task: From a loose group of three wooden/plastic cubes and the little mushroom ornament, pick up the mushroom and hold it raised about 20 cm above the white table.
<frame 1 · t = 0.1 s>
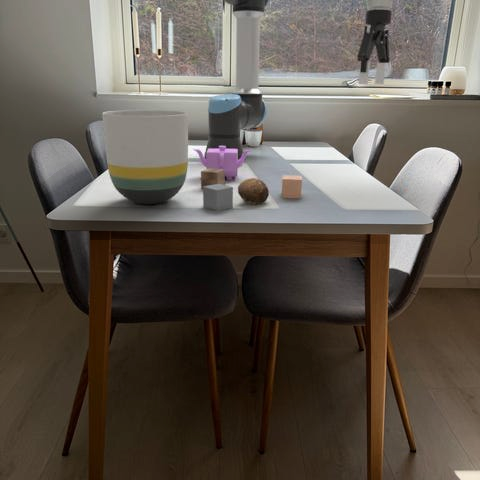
hand: (371, 84, 147), 28 cm above the table, fingers open, 13 cm apart
planter: (150, 202, 115), on the table
walnut cube: (213, 187, 130), on the table
mushroom: (253, 203, 116), on the table
slate cube: (218, 207, 111), on the table
terracotta cube: (291, 196, 122), on the table
teapot: (222, 177, 144), on the table
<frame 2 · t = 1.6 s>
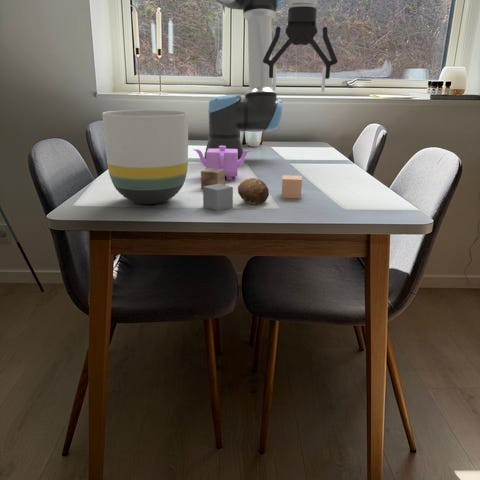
hand: (298, 91, 129), 26 cm above the table, fingers open, 13 cm apart
nothing on the table moved.
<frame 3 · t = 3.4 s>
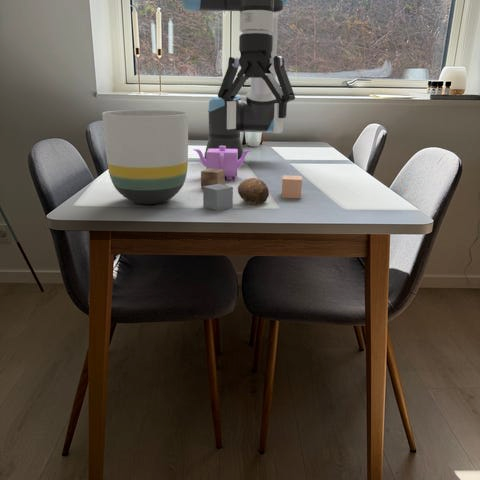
hand: (253, 131, 110), 17 cm above the table, fingers open, 13 cm apart
nothing on the table moved.
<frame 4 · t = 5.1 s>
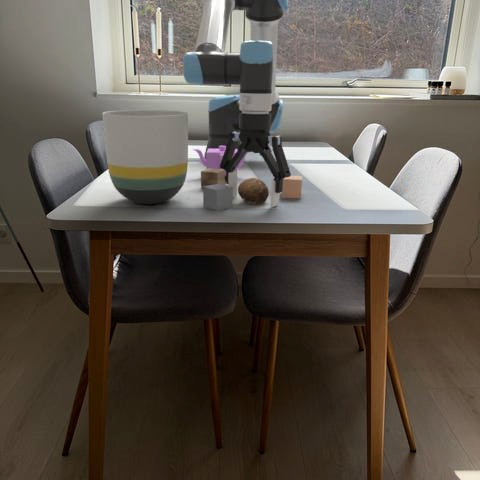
hand: (253, 201, 115), 0 cm above the table, fingers open, 12 cm apart
nothing on the table moved.
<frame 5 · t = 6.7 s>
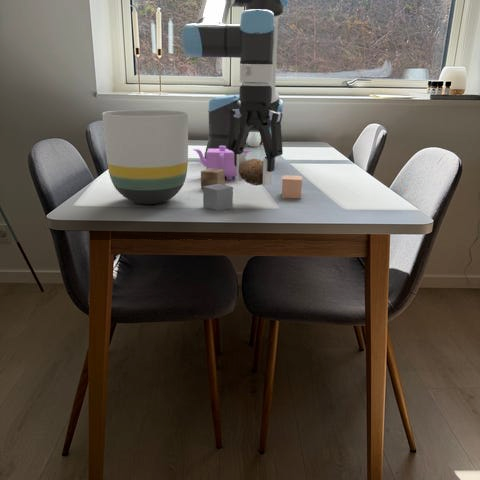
hand: (253, 181, 114), 5 cm above the table, fingers closed on mushroom, 7 cm apart
mushroom: (254, 184, 115), point 4 cm above the table, touching gripper
everything else where it was.
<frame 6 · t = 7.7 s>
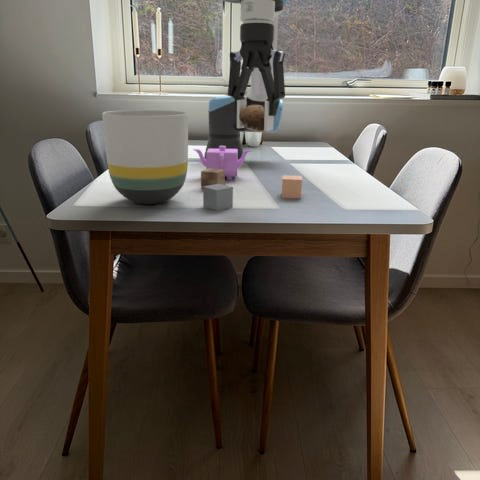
hand: (254, 128, 110), 18 cm above the table, fingers closed on mushroom, 7 cm apart
mushroom: (255, 131, 110), point 17 cm above the table, touching gripper
everything else where it was.
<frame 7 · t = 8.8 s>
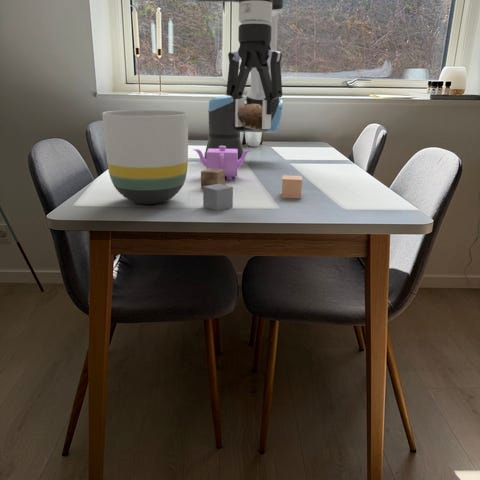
hand: (252, 127, 112), 18 cm above the table, fingers closed on mushroom, 7 cm apart
mushroom: (253, 129, 112), point 17 cm above the table, touching gripper
everything else where it was.
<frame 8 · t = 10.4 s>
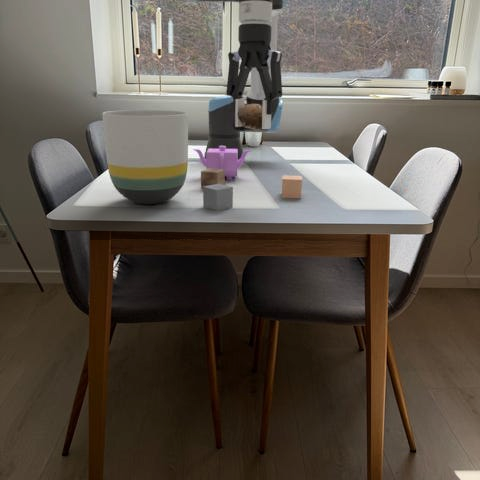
hand: (252, 127, 112), 18 cm above the table, fingers closed on mushroom, 7 cm apart
mushroom: (253, 129, 112), point 17 cm above the table, touching gripper
everything else where it was.
at the end: the gripper is holding mushroom; mushroom point 17.4 cm above the table; slate cube moved 0.1 cm from its start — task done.
